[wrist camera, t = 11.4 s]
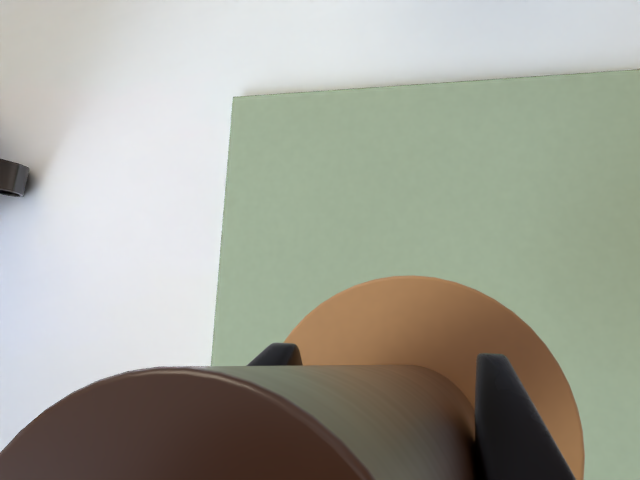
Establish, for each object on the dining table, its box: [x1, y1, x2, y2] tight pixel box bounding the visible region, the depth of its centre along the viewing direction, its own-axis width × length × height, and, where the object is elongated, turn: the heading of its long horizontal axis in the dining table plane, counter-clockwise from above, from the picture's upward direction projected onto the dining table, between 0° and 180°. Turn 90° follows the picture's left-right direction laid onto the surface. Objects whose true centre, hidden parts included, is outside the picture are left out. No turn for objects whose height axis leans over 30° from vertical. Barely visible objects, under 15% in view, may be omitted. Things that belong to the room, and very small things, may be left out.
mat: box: [211, 69, 640, 480], centre depth 22 cm, size 22×16×1 cm
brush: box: [0, 275, 585, 480], centre depth 9 cm, size 6×6×13 cm
